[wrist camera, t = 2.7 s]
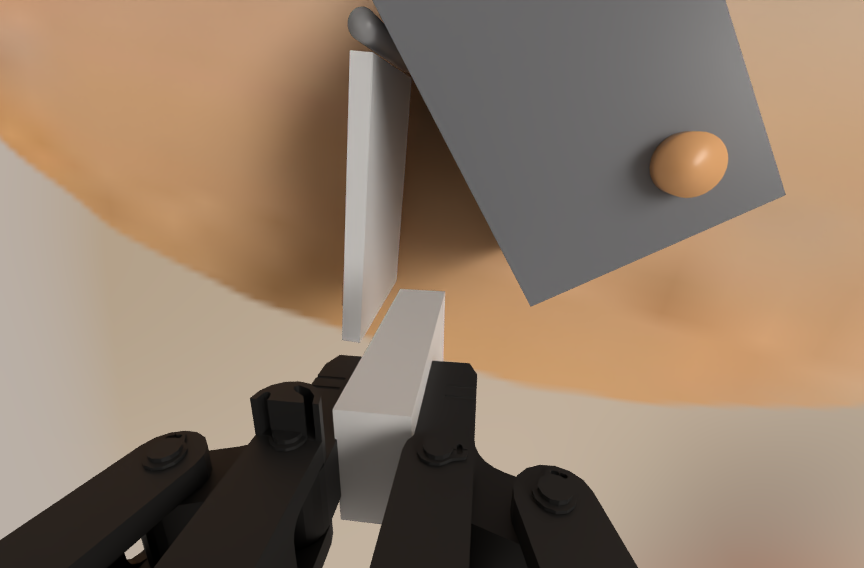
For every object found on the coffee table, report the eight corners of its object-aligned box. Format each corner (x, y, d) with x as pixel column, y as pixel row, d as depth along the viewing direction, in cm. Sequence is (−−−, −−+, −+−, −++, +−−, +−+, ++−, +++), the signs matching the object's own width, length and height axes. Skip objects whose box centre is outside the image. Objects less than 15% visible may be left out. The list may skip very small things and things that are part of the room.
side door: (381, 48, 22) (321, 3, 14) (417, 51, 22) (377, 7, 14) (369, 274, 26) (319, 336, 18) (399, 278, 26) (362, 343, 18)
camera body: (392, 1, 21) (320, -95, 12) (562, -121, 19) (635, -359, 10) (515, 245, 25) (532, 315, 15) (672, 169, 22) (802, 198, 13)
